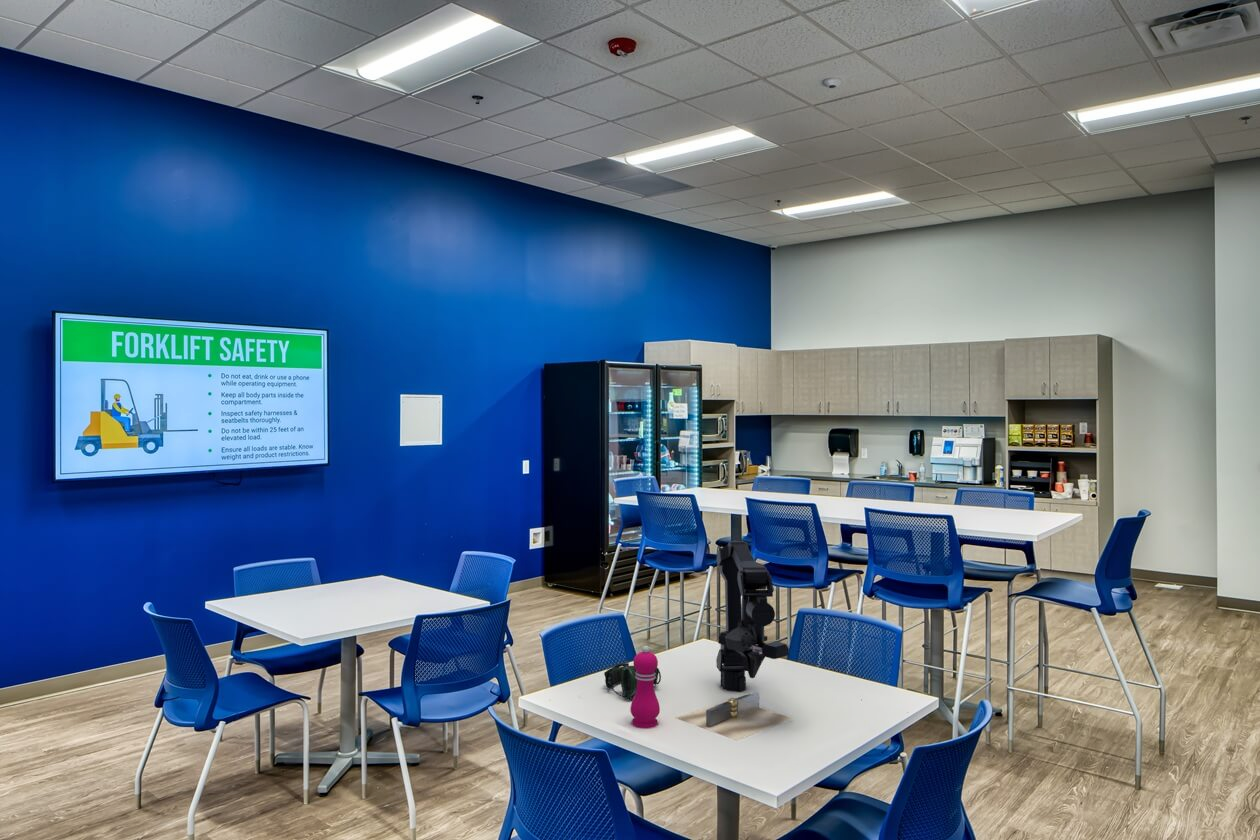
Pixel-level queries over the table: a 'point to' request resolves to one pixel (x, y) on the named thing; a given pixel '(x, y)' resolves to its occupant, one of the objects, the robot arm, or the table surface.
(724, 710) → the swing leaf
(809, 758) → the table surface
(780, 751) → the table surface
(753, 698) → the fixed leaf
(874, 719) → the table surface
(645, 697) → the pepper mill
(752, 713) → the board
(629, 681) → the headphones
